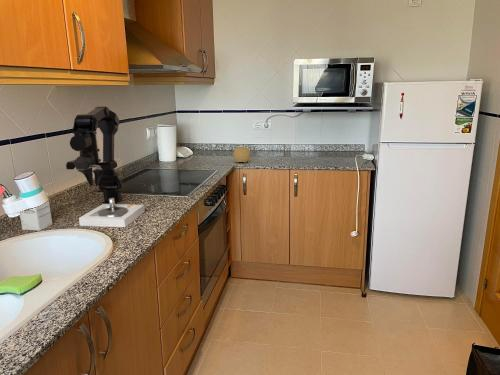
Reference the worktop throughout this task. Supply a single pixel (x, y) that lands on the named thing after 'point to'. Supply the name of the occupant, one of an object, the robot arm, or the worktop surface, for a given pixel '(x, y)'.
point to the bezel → (123, 221)
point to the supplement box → (37, 217)
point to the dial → (113, 210)
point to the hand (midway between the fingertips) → (94, 186)
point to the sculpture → (241, 154)
